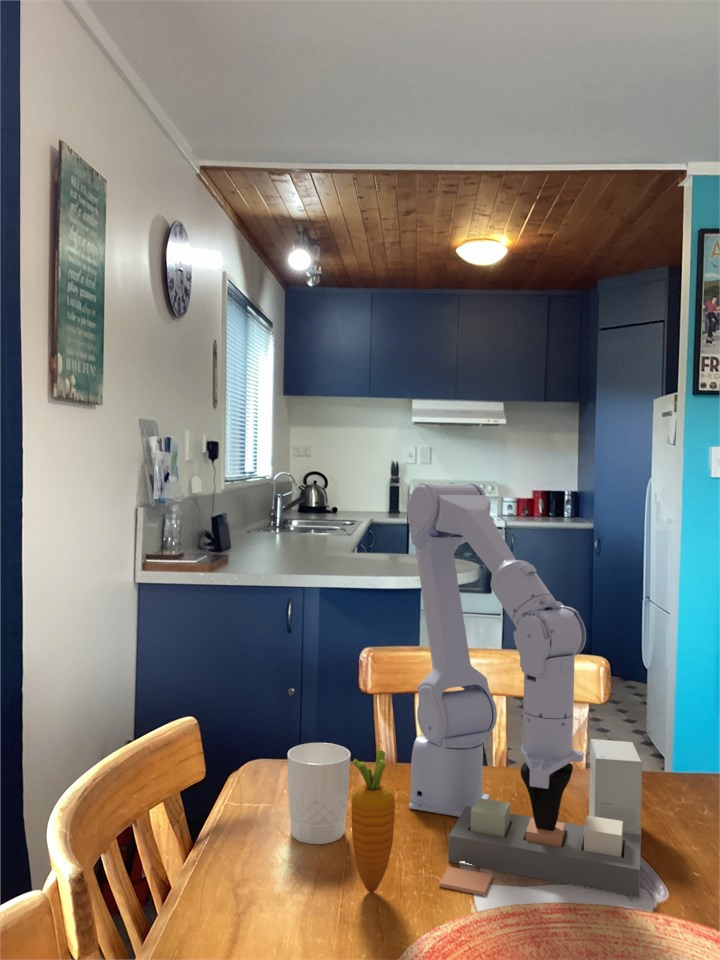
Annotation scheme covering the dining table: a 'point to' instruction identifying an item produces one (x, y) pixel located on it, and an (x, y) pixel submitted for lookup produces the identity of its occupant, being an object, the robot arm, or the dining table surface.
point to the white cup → (318, 791)
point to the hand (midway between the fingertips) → (545, 827)
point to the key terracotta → (546, 834)
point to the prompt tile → (466, 880)
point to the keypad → (548, 856)
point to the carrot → (372, 823)
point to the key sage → (490, 817)
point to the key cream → (603, 836)
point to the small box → (616, 783)
